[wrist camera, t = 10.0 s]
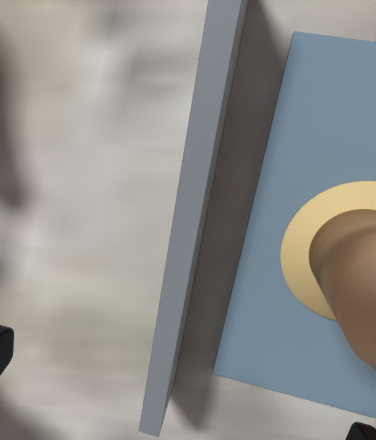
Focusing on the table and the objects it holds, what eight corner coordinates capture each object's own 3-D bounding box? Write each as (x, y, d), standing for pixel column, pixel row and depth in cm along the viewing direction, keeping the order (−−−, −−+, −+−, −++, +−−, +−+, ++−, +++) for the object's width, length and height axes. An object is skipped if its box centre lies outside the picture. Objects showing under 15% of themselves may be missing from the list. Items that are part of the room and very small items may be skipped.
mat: (402, 420, 19) (407, 429, 18) (213, 369, 20) (212, 376, 20) (573, 71, 13) (589, 68, 13) (292, 34, 15) (294, 29, 14)
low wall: (173, 383, 21) (158, 437, 17) (157, 378, 21) (138, 431, 18) (252, -21, 14) (255, -78, 11) (227, -24, 14) (221, -81, 11)
